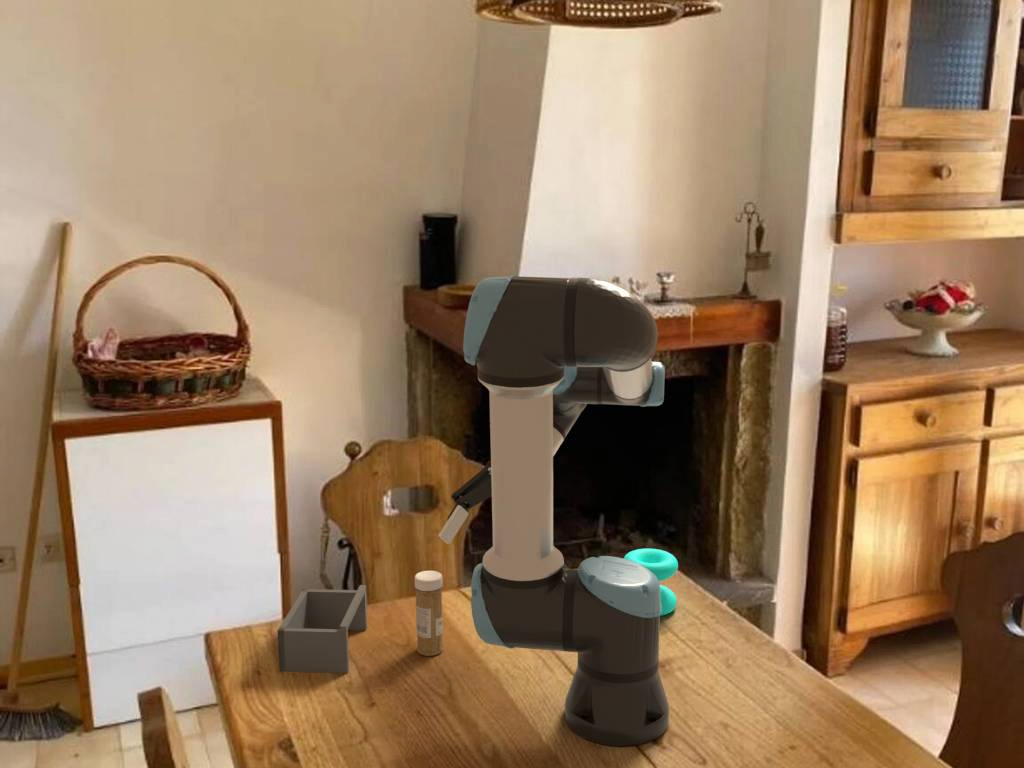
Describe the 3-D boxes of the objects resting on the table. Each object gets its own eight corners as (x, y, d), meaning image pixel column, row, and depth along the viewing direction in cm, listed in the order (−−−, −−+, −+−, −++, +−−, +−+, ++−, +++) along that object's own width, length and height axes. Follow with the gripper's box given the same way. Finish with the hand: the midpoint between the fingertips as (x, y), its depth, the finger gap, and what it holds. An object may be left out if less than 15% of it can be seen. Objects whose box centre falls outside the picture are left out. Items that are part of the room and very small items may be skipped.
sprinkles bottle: (448, 652, 163) (447, 576, 160) (424, 659, 161) (422, 582, 158) (435, 641, 167) (434, 567, 164) (411, 648, 165) (409, 573, 162)
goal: (347, 673, 156) (346, 626, 155) (279, 671, 157) (277, 624, 155) (367, 627, 172) (365, 585, 170) (304, 626, 173) (303, 583, 171)
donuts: (655, 571, 171) (611, 556, 178) (653, 624, 174) (610, 607, 181) (689, 556, 178) (645, 542, 185) (687, 607, 180) (644, 591, 187)
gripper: (595, 476, 167) (530, 583, 160) (497, 446, 185) (435, 542, 178) (574, 451, 162) (506, 561, 155) (475, 424, 180) (411, 521, 173)
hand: (468, 551), depth 167 cm, fingers open, 13 cm apart
